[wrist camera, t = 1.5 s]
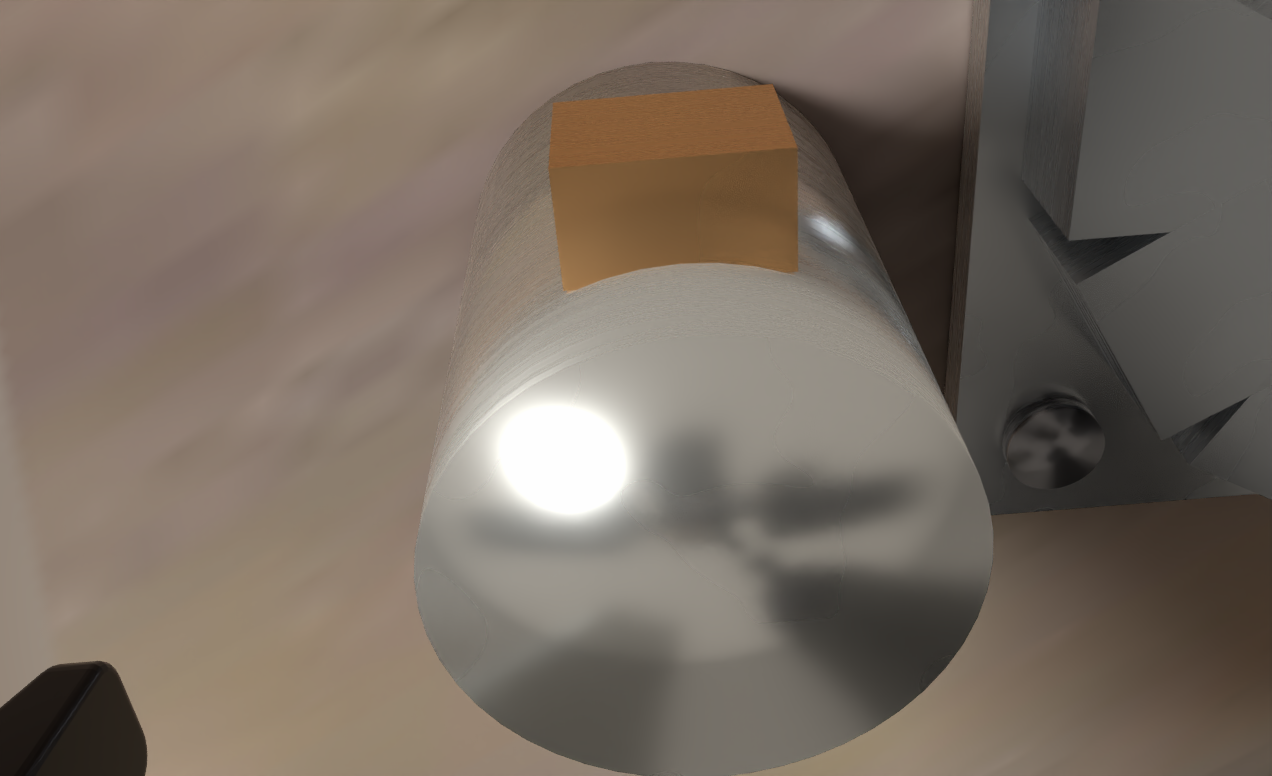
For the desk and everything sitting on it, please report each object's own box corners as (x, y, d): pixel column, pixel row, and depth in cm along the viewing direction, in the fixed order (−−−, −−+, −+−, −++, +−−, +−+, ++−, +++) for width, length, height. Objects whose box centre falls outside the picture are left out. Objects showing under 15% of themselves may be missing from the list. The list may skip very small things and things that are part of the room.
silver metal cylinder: (847, 388, 16) (972, 757, 11) (502, 417, 16) (462, 796, 11) (857, -35, 13) (1032, 192, 8) (434, 2, 13) (335, 251, 8)
